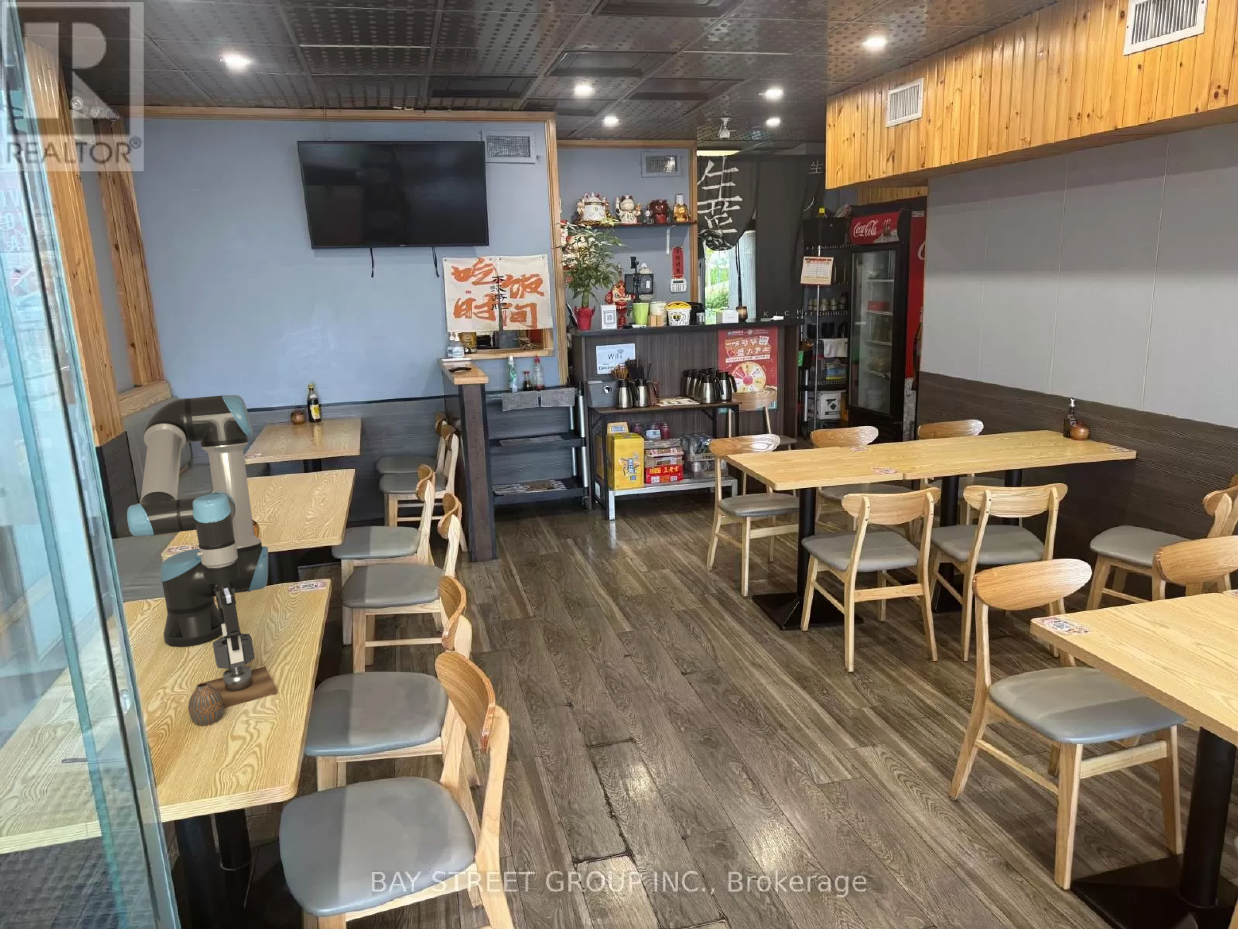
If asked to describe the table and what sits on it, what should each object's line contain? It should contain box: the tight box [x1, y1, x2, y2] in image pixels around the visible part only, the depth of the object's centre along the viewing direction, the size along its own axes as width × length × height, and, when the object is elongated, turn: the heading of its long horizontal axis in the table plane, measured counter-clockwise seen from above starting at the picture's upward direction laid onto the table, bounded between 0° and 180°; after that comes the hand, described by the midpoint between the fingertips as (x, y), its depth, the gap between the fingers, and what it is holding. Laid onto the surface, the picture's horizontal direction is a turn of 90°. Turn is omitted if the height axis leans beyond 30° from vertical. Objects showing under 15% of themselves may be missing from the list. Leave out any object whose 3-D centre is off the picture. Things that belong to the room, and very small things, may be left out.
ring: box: [212, 633, 256, 670], centre depth 194 cm, size 8×8×5 cm
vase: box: [188, 681, 225, 726], centre depth 182 cm, size 7×7×9 cm
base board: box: [206, 666, 278, 709], centre depth 196 cm, size 14×14×1 cm
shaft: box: [222, 644, 253, 692], centre depth 195 cm, size 6×6×10 cm
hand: (234, 655), depth 194 cm, fingers closed on ring, 8 cm apart
